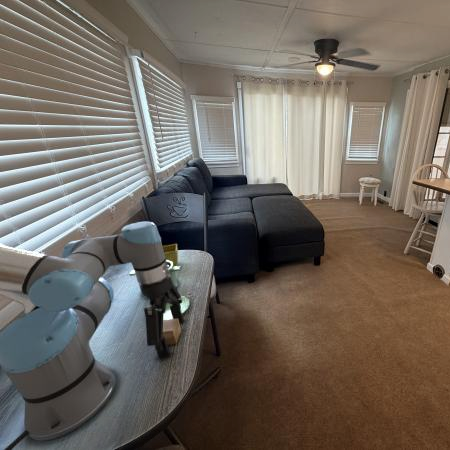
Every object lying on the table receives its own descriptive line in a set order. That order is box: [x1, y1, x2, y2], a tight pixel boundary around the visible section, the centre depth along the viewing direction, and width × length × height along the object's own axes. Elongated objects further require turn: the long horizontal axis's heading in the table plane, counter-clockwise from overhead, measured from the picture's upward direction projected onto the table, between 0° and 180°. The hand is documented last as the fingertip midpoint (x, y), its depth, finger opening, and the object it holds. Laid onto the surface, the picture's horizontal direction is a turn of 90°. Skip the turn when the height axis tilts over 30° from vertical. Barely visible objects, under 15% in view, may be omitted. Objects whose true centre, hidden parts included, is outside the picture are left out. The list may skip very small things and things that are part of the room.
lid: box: [158, 286, 191, 320], centre depth 82 cm, size 14×14×10 cm
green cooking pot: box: [128, 260, 182, 299], centre depth 95 cm, size 13×18×10 cm
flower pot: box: [162, 243, 179, 266], centre depth 111 cm, size 9×9×9 cm
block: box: [163, 319, 182, 346], centre depth 72 cm, size 5×5×5 cm
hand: (172, 337), depth 73 cm, fingers open, 12 cm apart
